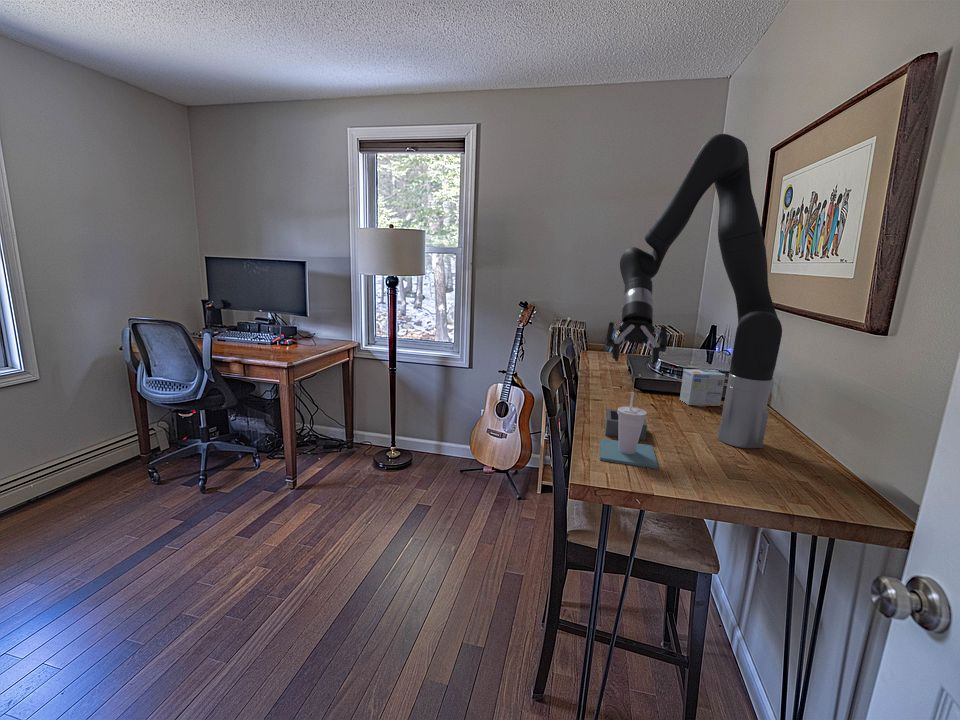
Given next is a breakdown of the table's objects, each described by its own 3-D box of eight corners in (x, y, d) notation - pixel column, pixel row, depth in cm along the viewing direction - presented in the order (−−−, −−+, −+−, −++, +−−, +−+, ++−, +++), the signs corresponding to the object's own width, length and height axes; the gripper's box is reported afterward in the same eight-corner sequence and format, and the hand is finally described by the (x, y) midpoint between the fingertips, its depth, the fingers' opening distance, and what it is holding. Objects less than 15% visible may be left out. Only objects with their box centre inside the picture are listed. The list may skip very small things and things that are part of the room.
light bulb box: (709, 401, 154) (714, 369, 152) (720, 407, 147) (726, 374, 145) (678, 400, 153) (683, 368, 151) (688, 406, 146) (693, 373, 144)
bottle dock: (641, 427, 124) (643, 413, 123) (644, 440, 115) (647, 425, 114) (604, 423, 126) (606, 408, 125) (605, 435, 117) (607, 420, 116)
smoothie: (606, 447, 108) (613, 388, 105) (628, 444, 111) (636, 387, 108) (625, 458, 102) (633, 397, 99) (647, 454, 105) (656, 395, 102)
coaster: (651, 447, 111) (652, 445, 111) (657, 468, 99) (658, 466, 99) (600, 440, 114) (600, 438, 113) (600, 460, 102) (600, 457, 102)
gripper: (610, 297, 119) (606, 349, 111) (669, 302, 116) (669, 355, 108) (607, 316, 125) (603, 366, 117) (663, 320, 122) (663, 372, 114)
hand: (635, 361), depth 112 cm, fingers open, 8 cm apart
